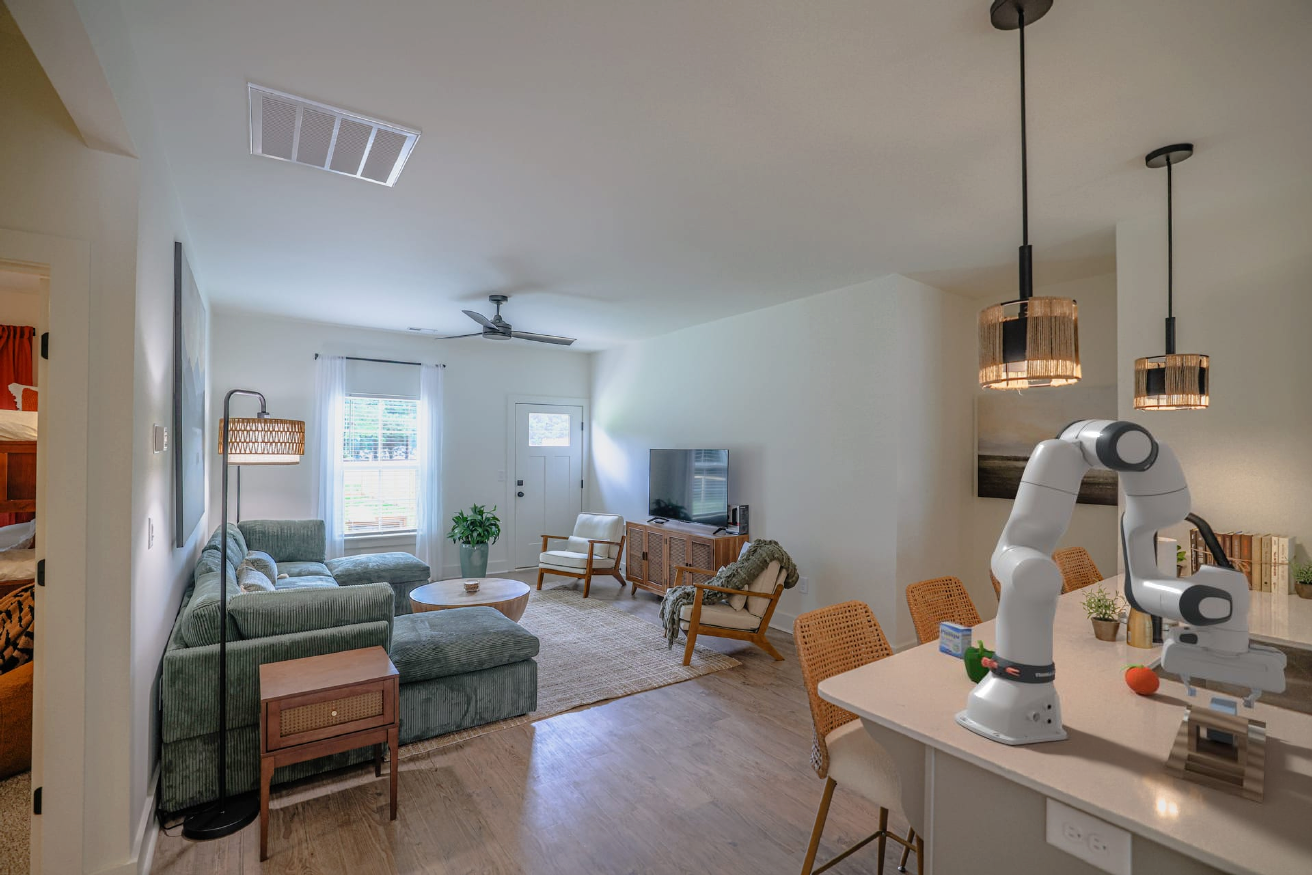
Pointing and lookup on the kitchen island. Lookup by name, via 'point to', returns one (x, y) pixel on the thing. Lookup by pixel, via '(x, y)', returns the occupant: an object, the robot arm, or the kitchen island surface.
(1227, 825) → the kitchen island surface
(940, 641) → the medicine box
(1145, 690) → the tomato
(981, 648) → the bell pepper
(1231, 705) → the sled block
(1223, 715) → the tunnel deck
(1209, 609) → the robot arm
